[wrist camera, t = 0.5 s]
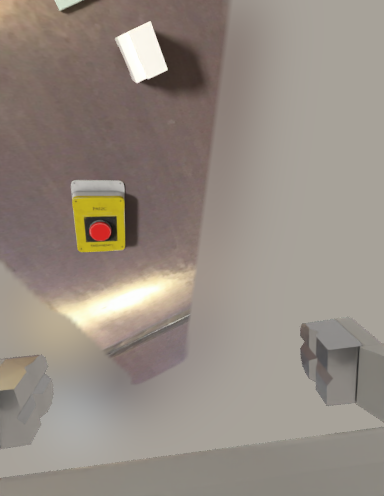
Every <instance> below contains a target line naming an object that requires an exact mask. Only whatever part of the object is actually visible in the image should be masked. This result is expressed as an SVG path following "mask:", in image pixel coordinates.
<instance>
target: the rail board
mask: <svg viewBox="0 0 384 496" xmlns="http://www.w3.org/2000/svg"><path fill="white" fill-rule="evenodd" d="M82 1H84V0H55V2H56V4H57V6H58V8H59V10H60V11H62V10H64V9H67V8H69V7H71V6H73V5H75V4H77V3H79V2H82Z"/></svg>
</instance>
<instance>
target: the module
mask: <svg viewBox="0 0 384 496" xmlns="http://www.w3.org/2000/svg"><path fill="white" fill-rule="evenodd" d="M115 41H116V43H117V45H118V47H119V48H120V50H121V53H122V55H123V57H124V60H125V62H126V64H127V67H128V69H129V71H130V75H131V78H132V80H133V81H135V82H136V83H138V82H140V81H143V80H145V79H150V78H152V77H154V76H156V75H158V74H161V73H163V72H165V71H167V70H168V68H167V66H166V63H165V60H164V57H163V55H162V52H161V49H160V46H159V43H158V41H157V38H156V35H155V32H154V30H153V27H152V24H151V21H150V22H148V23H145V24H143V25H141V26H139V27H137V28H135V29H133V30H130V31H128V32H127V33H124V34H122V35H120V36H118V37H116V38H115Z"/></svg>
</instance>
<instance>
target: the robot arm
mask: <svg viewBox="0 0 384 496" xmlns="http://www.w3.org/2000/svg"><path fill="white" fill-rule="evenodd" d="M300 336H301V337H302V339H303V340H304V341H305V342H304V344H303V345H302V347H301V348H300V350H301V361H302V365H303V368H304V370H305V373H306V375H307V376H308V378H309V379H311V380H312V381H314V382H316V390H317V392H318V393H319V395H320V396H321V398H322V399H323V401H324V402H325V404H326V406H331V405H341V404H351V403H356V404H357V405H358V406H360V407H361V408H363V409H364V410H366V411H367V412H369V413H370V414H372V415H373V416H375V417H376V418H378V419H380V420H381V421H382V422H384V344H382V343H381V342H380V341H379V340H378V339H376V338H375V337H374V336H373V335H371V334H370V333H369V332H368V331H367V330H366V329H364V328H363V327H362V326H361V325H360V324H358V323H357V322H356V321H355V320H354V319H352V318H350V317H343V318H337V319H330V320H323V321H317V322H310V323H304V324H302V325H301V329H300ZM47 368H48V365H47V361H46V358H45V357H44V356H43V355H34V356H24V357H13V358H4V359H0V449H5V448H11V447H17V446H24V445H30V444H31V443H32V441H33V439H34V437H35V435H36V433H37V432H38V430H39V428H40V426H41V422H40V418H41V417H42V416H43V415H44V414H46V413H47V412H48V410H49V408H50V406H51V404H52V399H53V384H52V380H51V378H49V376H47V375H46V374H45V372H46V370H47ZM0 496H384V427H379V428H372V429H364V430H357V431H350V432H342V433H334V434H327V435H320V436H312V437H305V438H297V439H289V440H282V441H274V442H267V443H259V444H252V445H244V446H237V447H229V448H222V449H214V450H207V451H199V452H192V453H184V454H176V455H169V456H161V457H154V458H146V459H139V460H131V461H124V462H116V463H109V464H101V465H94V466H87V467H79V468H71V469H64V470H56V471H48V472H41V473H33V474H27V475H19V476H11V477H3V478H0Z"/></svg>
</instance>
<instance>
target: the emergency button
mask: <svg viewBox="0 0 384 496" xmlns="http://www.w3.org/2000/svg"><path fill="white" fill-rule="evenodd" d="M71 192H72V204H73V213H74V222H75V231H76V239H77V248H78V251H80V252H97V251H118V250H123V249H124V248H125V188H124V183H123V182H122V181H119V180H74V181H72V183H71Z"/></svg>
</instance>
